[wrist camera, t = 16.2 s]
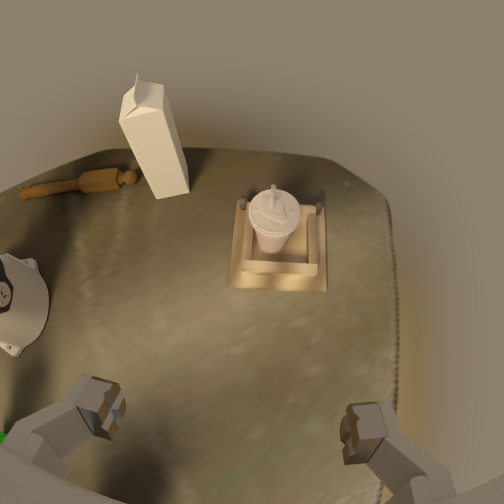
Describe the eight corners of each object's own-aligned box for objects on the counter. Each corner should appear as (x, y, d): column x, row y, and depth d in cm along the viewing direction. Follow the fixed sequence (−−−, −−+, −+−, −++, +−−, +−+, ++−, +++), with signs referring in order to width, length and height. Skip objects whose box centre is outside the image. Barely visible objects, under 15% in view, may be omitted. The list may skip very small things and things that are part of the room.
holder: (228, 287, 43) (226, 279, 40) (237, 204, 49) (236, 192, 46) (325, 292, 43) (330, 285, 40) (322, 209, 48) (327, 197, 45)
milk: (156, 200, 50) (108, 104, 29) (156, 173, 52) (115, 78, 32) (190, 192, 50) (156, 90, 30) (188, 166, 52) (159, 66, 32)
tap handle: (21, 184, 50) (135, 165, 49) (28, 191, 53) (140, 175, 52) (16, 196, 49) (132, 178, 48) (24, 203, 51) (137, 188, 51)
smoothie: (274, 216, 47) (280, 158, 34) (301, 246, 45) (318, 194, 32) (241, 239, 45) (235, 185, 32) (268, 271, 43) (273, 226, 30)
